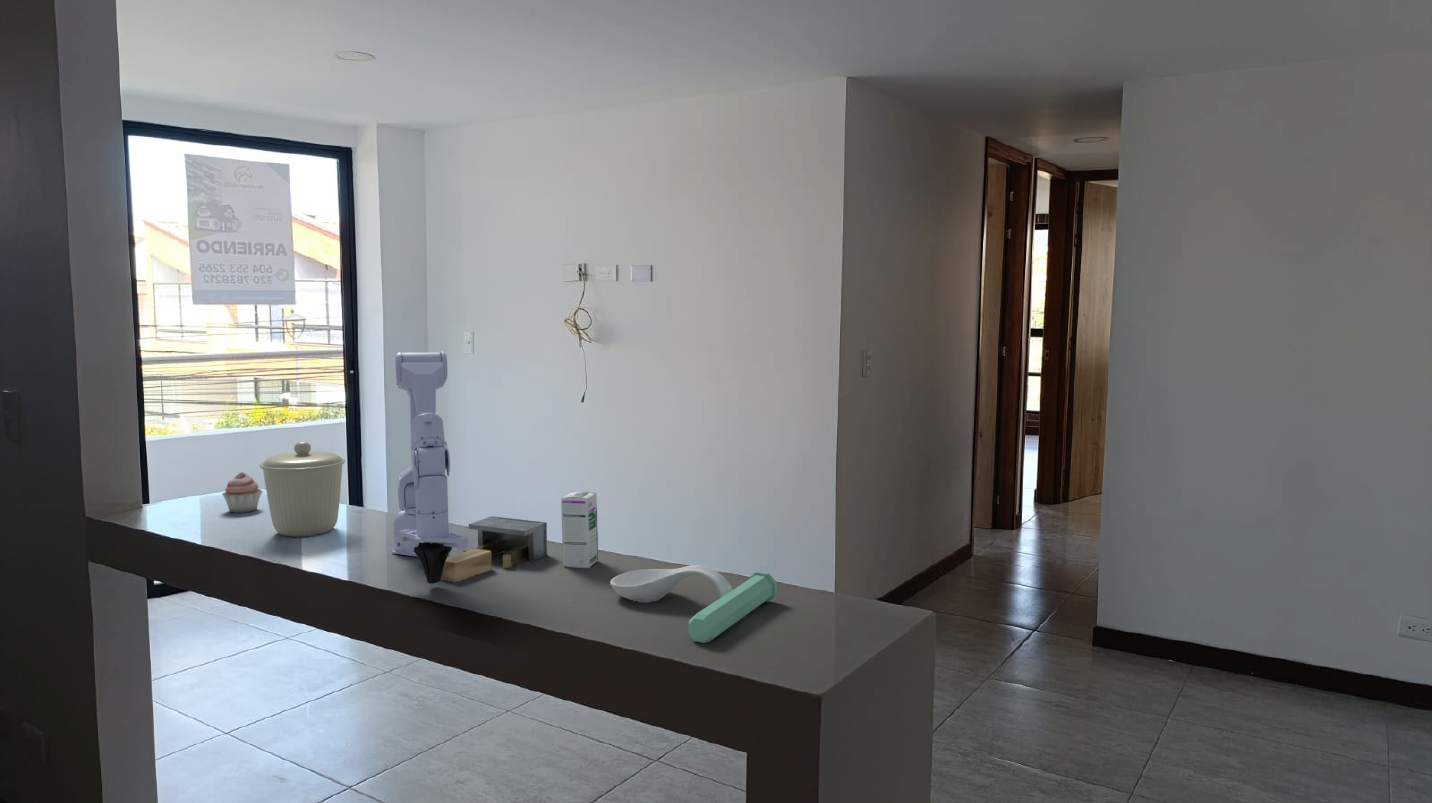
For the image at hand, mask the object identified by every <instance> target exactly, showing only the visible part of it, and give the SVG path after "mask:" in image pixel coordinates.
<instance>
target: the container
mask: <svg viewBox="0 0 1432 803" xmlns="http://www.w3.org/2000/svg"><path fill="white" fill-rule="evenodd" d="M777 590H778V582H777V581H776V580H775V579H774V578H773V576H772V575H771V574H770V573H769V572H765V571H759V570H756V571H755V572H754V573H753V574H752V575H751V576H749V578H747V579H746V581H744V582H743V583H741V584H739V585H738V586H737V587H735V588H734V589H732V591H730V592H729V593H727V594H726V595H724V596H723V597H721V598H720V599H717V600H715V601H714V602H712V603H710V604H709V605H708V606H706V607H705V608H703V609H702V610H700V611H698V612H697V613H696V614H695V615H693V616H692V617H691V618H690V619H689V621H688V635H689V636H690V637H691V638H692V640H693V641H694V642H696V643H697V642H698V643H703V644H707V642H708V643H710V642H711V641H713V640H714V639H715V638H717V637H718V636H720V635H721V634H723V633H724V632H725V631H727V629H728V630H729V628H731V627H732V626H733V625H735V624H736V623H738V622H740V620H742V619H743V618H745V617H746V616H747V615H749V614H750V613H752V612H753V611H755V610H756V609H757V608H758V607H760V606H761V605H762V604H764V603H770V602H771V601H772V600H773V599H774V598H775V597H776V596H777V595H778V593H777V592H778V591H777Z"/></svg>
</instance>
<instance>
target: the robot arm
mask: <svg viewBox="0 0 1432 803" xmlns="http://www.w3.org/2000/svg"><path fill="white" fill-rule="evenodd" d="M394 357H395V359H394V361H395V379H396V380H395V381H396V383H395V384H396V385H397V388H398V389H400V390H404V391H406V393H407V395H408V397H409V410H410V411H409V416H410V417H409V418H410V444H411V445H410V450H411V451H410V453H411V454H410V455H411V464H410V466H408V467H407V468H406V469H405V470H403V471H402V472H400V473H399V476H398V485H397V497H398V501H397V502H398V508H399V510H400V511H399V512H397V514H396V515H395V518H394V520H393V545H394V550H391V554H396V555H404V556H408V557H417V558H418V560H419V562H420V564H421V566H422V568H423V571H424V574H425V577H426V581H427V584H433V585H434V584H437V583H440V582H441V575H442V571H443V567H444V564H445V561H446V559H447V558H448V557H449V555H450V552H451V551H452V549H453V548H456V549H457V550H465V549H466V548H468V547H469V540H468V538H469V537H468V536H465V535H460V534H457V533H454V532H451V531H449V530H450V528H449V492H448V491H449V490H448V477H449V476H450V471H451V456H450V452H449V447H448V445H447V444H448V443H447V441H445V431H444V428H445V427H444V421H443V418H442V417H441V416H440V415H438V414H437V413H436V412H437V410H436V408H437V407H436V402H437V400H436V399H437V398H436V397H437V396H436V395H437V393H436V392H437V390H438V389H440V388H443V387H444V385H445V383H446V382H447V380H448V359H447V354H446V353H445V352H444V351H439V352H438V351H437V352H429V351H428V352H424V351H423V352H401V351H398V352H397V353H396V354H395V356H394Z"/></svg>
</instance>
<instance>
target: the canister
mask: <svg viewBox="0 0 1432 803" xmlns="http://www.w3.org/2000/svg"><path fill="white" fill-rule="evenodd" d="M311 449H312V446H311V444H310V443H309V442H307V441H299V442H297V443H295V445H294V447H293V450H294V452H288V453H283V454H282V453H281V454H277V455H272V456H270V457H268V458H267V459H265V460H264V461H262V462H260V464H259V468H260V469H262V471H263V478H264V485H265V491H266V496H267V502H268V508H269V512H270V518H271V522H272V526H273V528H274V530H275V531H276V533H277V534H278V535H282V536H286V537H293V538H294V537H295V538H296V537H298V538H300V537H311V536H312V537H313V536H316V535H317V536H318V535H322V534H325V533H327V532H329V531H330V532H331V531H332V530H333V529H334V528H335V527H336V525H337V523H338V519H339V518H338V517H339V510H340V502H341V500H340V499H341V490H342V489H341V488H342V487H341V486H342V473H343V465H344V464H345V463H346V458H344V457H341V456H340V455H338V454H336V453H333V452H328V451H327V452H326V451H312V450H311Z"/></svg>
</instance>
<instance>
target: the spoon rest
mask: <svg viewBox="0 0 1432 803" xmlns="http://www.w3.org/2000/svg"><path fill="white" fill-rule="evenodd" d="M692 576H697V577H700V578H702V579H705V580H706V581H708V582H709V583H710V584H712V586H713V587H714V588H715V590H716V592H717V594H718V598H719V599H720V598H721V597H723V596H724V595H726V594H727V593H729V592H730V591H732V590H733V588H732V585H731V584H730V583H729V581H728V580H727V579H726V577H724V576H723V575H722V574H721V573H719V572H718V571H716V570H715V569H713V568H711V567H708V566H705V565H702V564H694V565H687V566H683V567H679V568H670V569H669V568H665V569H663V568H652V569H651V568H650V569H638V570H637V569H636V570H632V571H627V572H623V573H620V574H618V575H616V576H615V577H613V578H611V580H610V581H609V583H610V584H609V585H610V586H611V588H612V589H613V590H614V592H616V593H617V594H618V595H619V596H621V597H622V598H624V599H627V600H629V601H631V600H633V601H632V602H635V601H638V602H637V603H651V602H650V601H654V602H657V600H658V601H660V600H662V599H663V597H665V596H666V595H667V594H669V593H670V592H671V591H672V590H673V589H674V588H675V587H676V586H678V584H679V583H680V582H681V581H683V580H684V579H685V578H687V577H692ZM661 598H662V599H661ZM659 599H660V600H659Z"/></svg>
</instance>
